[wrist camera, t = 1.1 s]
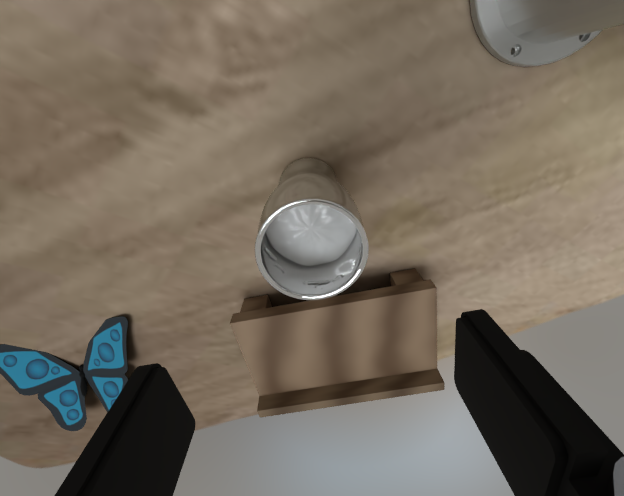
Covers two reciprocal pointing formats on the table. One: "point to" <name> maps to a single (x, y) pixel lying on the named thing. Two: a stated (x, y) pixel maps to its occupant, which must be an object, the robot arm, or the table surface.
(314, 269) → the beer glass
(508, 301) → the table surface
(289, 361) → the display ledge
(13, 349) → the decorative butterfly
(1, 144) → the table surface
